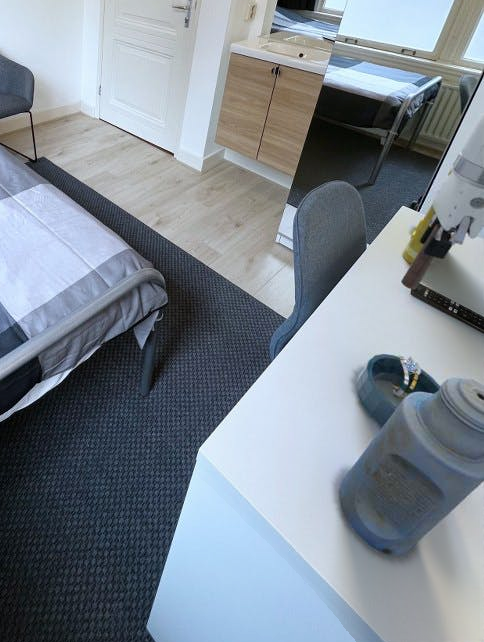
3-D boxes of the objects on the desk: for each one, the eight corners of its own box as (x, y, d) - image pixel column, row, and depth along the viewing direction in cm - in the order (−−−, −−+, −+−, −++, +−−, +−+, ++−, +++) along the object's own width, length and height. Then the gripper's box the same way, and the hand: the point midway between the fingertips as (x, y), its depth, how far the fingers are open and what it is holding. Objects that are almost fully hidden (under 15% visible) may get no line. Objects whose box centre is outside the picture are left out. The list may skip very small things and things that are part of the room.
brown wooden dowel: (414, 282, 87) (450, 226, 79) (417, 291, 84) (454, 234, 77) (400, 277, 87) (434, 221, 80) (402, 286, 85) (438, 229, 78)
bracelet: (403, 409, 76) (424, 383, 72) (383, 399, 77) (402, 372, 73) (402, 378, 81) (421, 352, 77) (383, 369, 82) (401, 343, 79)
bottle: (323, 504, 62) (416, 383, 48) (354, 461, 68) (446, 342, 53) (392, 578, 56) (524, 465, 41) (421, 525, 61) (546, 408, 47)
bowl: (425, 391, 79) (440, 372, 76) (443, 460, 69) (462, 441, 66) (351, 362, 83) (363, 343, 80) (358, 423, 73) (372, 404, 70)
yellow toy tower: (414, 231, 123) (457, 158, 111) (441, 244, 118) (489, 170, 106) (398, 257, 112) (443, 179, 100) (427, 272, 108) (479, 193, 96)
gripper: (528, 202, 65) (466, 286, 74) (491, 156, 78) (442, 232, 87) (469, 186, 67) (416, 270, 76) (443, 145, 80) (401, 220, 89)
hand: (431, 249), depth 81 cm, fingers closed on brown wooden dowel, 2 cm apart
